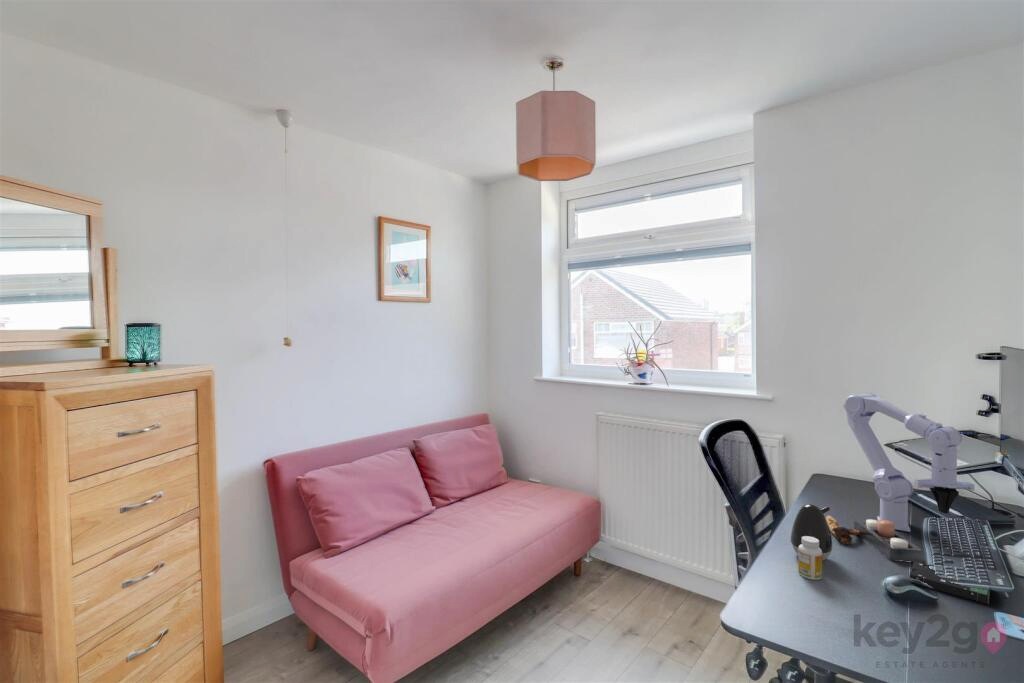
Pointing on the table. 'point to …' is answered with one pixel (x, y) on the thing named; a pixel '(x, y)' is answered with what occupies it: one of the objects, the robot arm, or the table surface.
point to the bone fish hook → (840, 531)
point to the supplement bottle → (810, 558)
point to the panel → (888, 544)
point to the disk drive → (946, 583)
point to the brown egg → (886, 528)
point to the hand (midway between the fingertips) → (943, 512)
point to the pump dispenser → (812, 528)
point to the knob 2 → (898, 543)
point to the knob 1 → (872, 523)
